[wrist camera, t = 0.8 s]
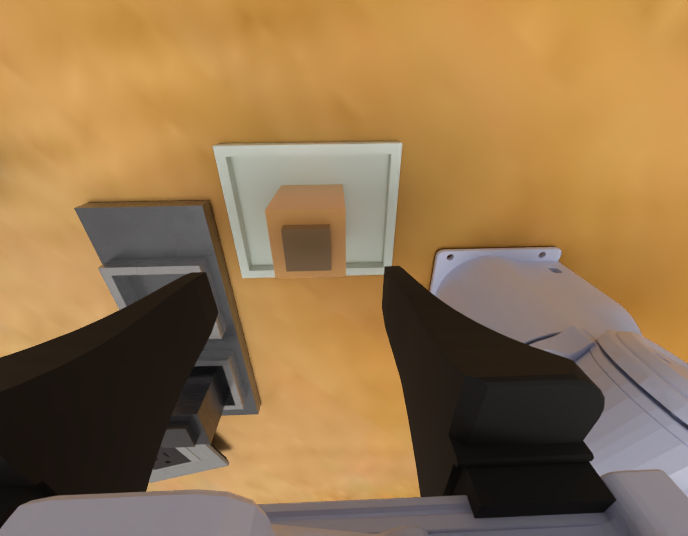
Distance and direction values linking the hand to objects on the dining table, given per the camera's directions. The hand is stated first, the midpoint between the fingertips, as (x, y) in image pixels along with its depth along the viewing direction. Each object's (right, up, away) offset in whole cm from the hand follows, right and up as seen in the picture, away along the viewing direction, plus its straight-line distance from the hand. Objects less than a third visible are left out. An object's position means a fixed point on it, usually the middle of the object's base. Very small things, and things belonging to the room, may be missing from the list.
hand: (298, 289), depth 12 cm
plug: (0, +5, +8) cm, 9 cm away
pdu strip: (-11, -4, +13) cm, 17 cm away
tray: (0, +5, +8) cm, 9 cm away
